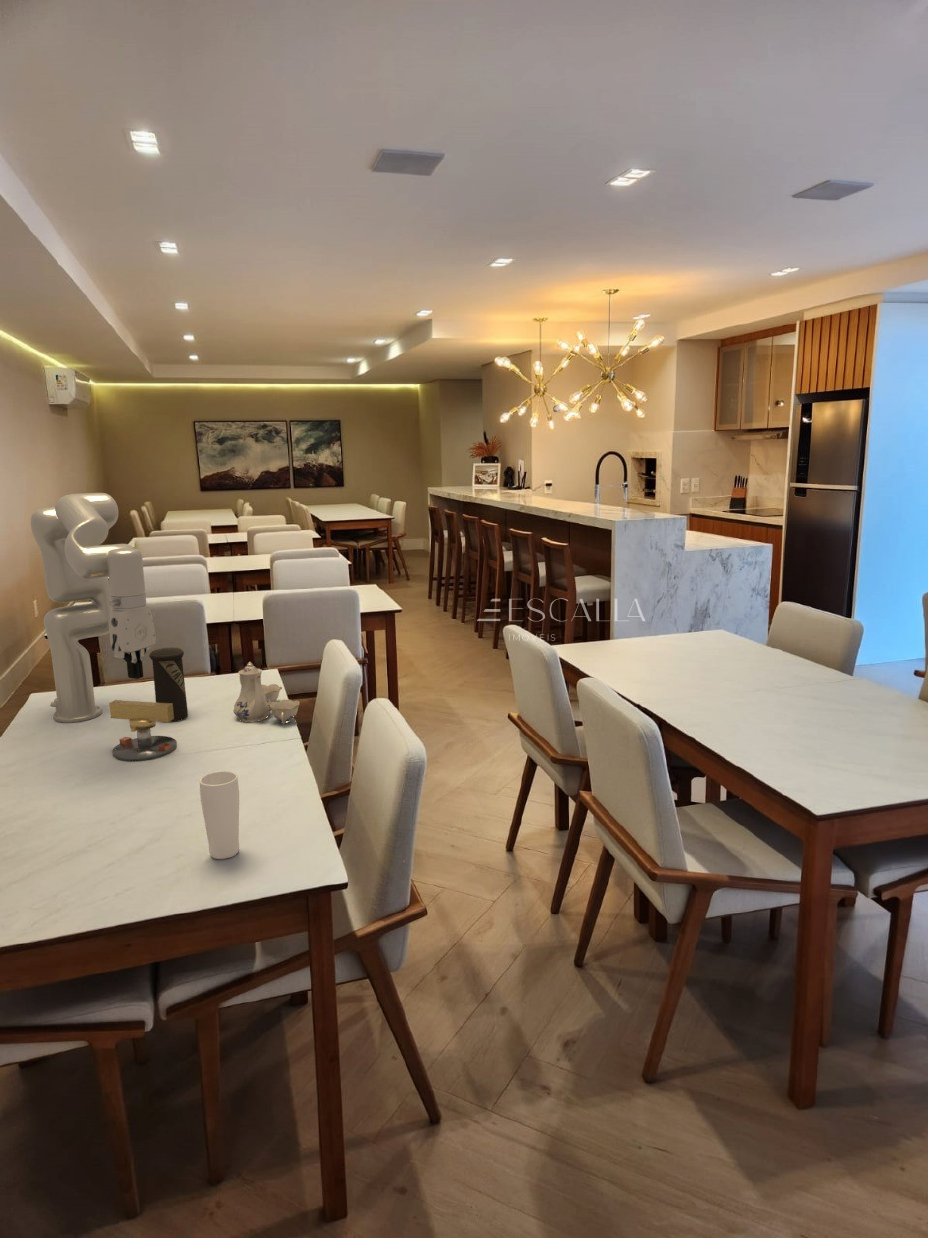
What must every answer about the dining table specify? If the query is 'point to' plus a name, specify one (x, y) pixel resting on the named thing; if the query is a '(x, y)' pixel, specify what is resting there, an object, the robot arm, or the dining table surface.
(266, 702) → the chinaware
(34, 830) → the dining table surface
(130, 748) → the post base
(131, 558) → the robot arm
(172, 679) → the container
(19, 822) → the dining table surface
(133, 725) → the gold bar handle
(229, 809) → the drinking glass
